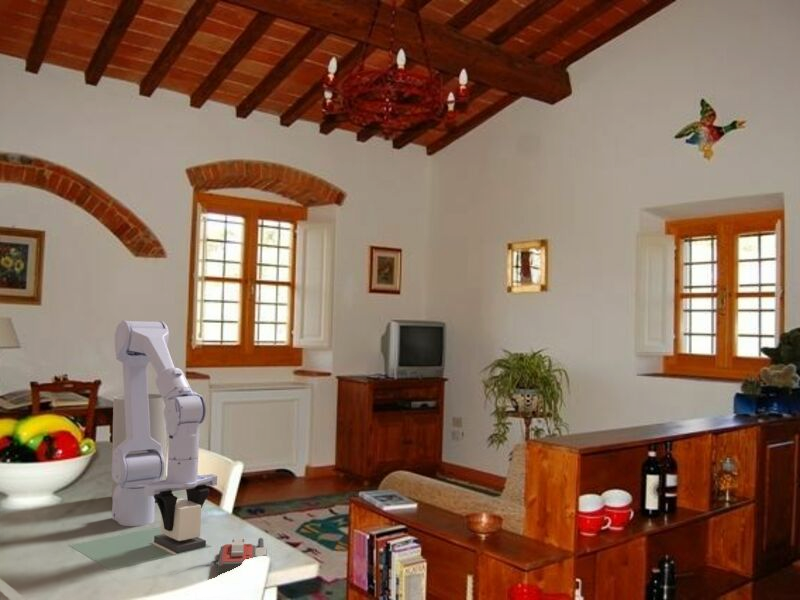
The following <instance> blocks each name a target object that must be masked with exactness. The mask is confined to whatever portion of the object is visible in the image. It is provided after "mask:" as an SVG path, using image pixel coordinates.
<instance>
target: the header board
mask: <svg viewBox="0 0 800 600" xmlns="http://www.w3.org/2000/svg"><path fill="white" fill-rule="evenodd" d="M68 546H69V547H71V548H73V549H75V551H77V552H79V553H81V554H82V555H84V556H86V557H87V558H89V559H91V560H93V562H94V561H95V562H96V563H98V564H99V565H101V566H102V567H104V568H106V569H107V570H108V571H113V570H118V569H122V568H126V567H130V566H135V565H138V564H143V563H147V562H151V561H157V560H161V559H165V558H170V557H173V556H177V555H182V554H188V553H190V552H195V551H199V550H203V549H207V548H211V547H212V546H211V545H209V544H207V540H206V539H204V538H202V537H201V538H200V537H195V538H191V539H186V540H182V541H178V540H175V539H173V538H171V537H169V536H167V535H165V534H162V533H161V526H158V527H152V528H147V529H143V530H138V531H132V532H128V533H123V534H119V535H118V534H117V535H113V536H108V537H103V538H97V539H93V540H88V541H83V542H78V543H74V544H69V545H68Z"/></svg>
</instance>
